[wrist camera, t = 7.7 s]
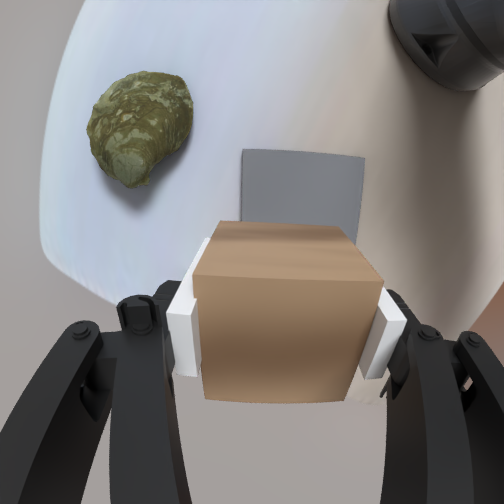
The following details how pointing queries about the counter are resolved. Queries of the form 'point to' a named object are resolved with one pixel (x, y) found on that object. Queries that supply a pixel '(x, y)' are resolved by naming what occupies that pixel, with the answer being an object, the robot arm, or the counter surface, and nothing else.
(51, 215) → the counter surface
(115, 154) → the seashell
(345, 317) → the walnut cube
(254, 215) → the coaster
